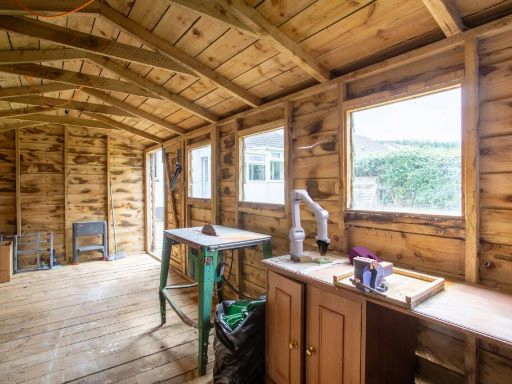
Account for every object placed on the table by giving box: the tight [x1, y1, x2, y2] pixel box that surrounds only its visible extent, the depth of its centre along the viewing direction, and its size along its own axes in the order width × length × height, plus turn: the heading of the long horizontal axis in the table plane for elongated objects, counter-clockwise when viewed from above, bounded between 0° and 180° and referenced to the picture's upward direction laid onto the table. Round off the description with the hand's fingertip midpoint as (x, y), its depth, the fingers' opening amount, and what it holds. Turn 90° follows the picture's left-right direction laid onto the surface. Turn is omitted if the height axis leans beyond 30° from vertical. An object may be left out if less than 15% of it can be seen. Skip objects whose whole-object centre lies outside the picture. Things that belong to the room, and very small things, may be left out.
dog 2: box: [293, 255, 300, 263], centre depth 179 cm, size 3×3×4 cm
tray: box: [313, 256, 333, 265], centre depth 178 cm, size 8×8×2 cm
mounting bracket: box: [348, 245, 384, 265], centre depth 168 cm, size 10×8×18 cm
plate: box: [298, 254, 313, 263], centre depth 183 cm, size 8×8×2 cm
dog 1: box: [289, 253, 295, 262], centre depth 184 cm, size 3×3×4 cm
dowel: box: [319, 245, 327, 257], centre depth 178 cm, size 3×3×6 cm
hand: (322, 252), depth 178 cm, fingers closed on dowel, 3 cm apart
